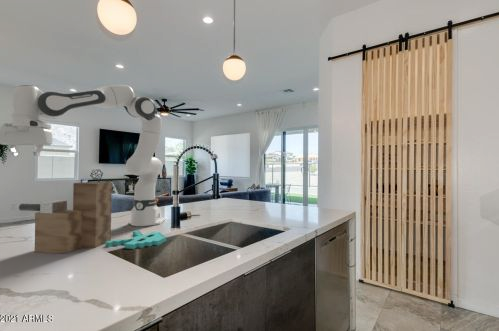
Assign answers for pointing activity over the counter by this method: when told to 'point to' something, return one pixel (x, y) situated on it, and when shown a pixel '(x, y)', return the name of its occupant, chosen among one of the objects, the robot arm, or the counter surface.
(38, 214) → the step stand
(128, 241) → the alien figure
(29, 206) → the mallet
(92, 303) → the counter surface
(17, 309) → the counter surface
